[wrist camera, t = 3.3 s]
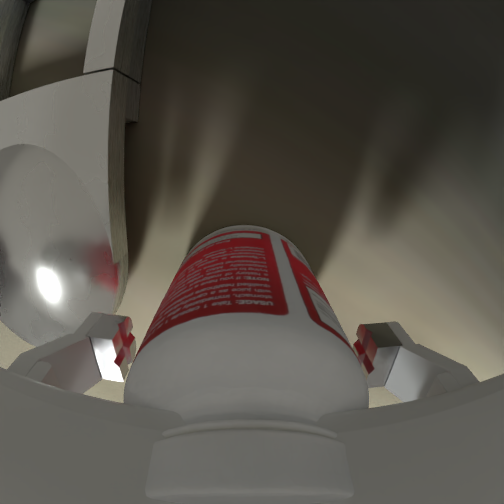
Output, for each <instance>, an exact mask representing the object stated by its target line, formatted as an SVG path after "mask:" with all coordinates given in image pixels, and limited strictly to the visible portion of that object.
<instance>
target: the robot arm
mask: <svg viewBox="0 0 504 504" xmlns="http://www.w3.org/2000/svg"><path fill="white" fill-rule="evenodd" d="M132 328H133V325H132V320H131V318H130V317H128V316H120V315H113V314H105V313H99V312H91V314H90V315H89V316H88V317H87V318H86V319H85V321H84V322H83V323H82V324H81V325H80V327H79V328H78V329H77V330H76V331H75V333H74V334H67V335H65V336H63V337H60V338H58V339H55V340H53V341H51V342H48V343H46V344H43V345H41V346H38V347H36V348H34V349H31V350H29V351H26V352H24V353H21V354H20V355H19V356H18V358H17V359H16V360H15V361H14V362H13V363H12V364H11V366H10V367H9V368H8V369H7V370H6V369H4V368H1V367H0V504H182V503H175V502H168V501H162V500H156V499H151V498H149V497H147V496H146V493H145V486H146V481H147V476H148V471H149V466H150V461H151V455H152V449H153V444H154V443H155V442H157V441H160V440H164V439H165V438H166V437H164V436H163V435H162V433H163V432H164V431H166V430H169V429H173V428H177V427H180V426H183V425H185V422H184V420H183V419H182V417H181V416H180V414H178V413H176V412H174V411H169V410H162V409H155V408H148V407H142V406H136V405H130V404H125V403H119V402H114V401H110V400H105V399H100V398H96V397H92V396H88V395H84V394H83V393H84V392H85V391H87V390H88V389H90V388H91V387H92V386H94V385H95V384H97V383H98V382H99V381H101V380H102V379H108V380H114V381H121V382H123V381H124V379H125V377H126V375H127V373H128V371H129V369H128V364H130V363H132V362H133V360H134V358H135V353H136V341H135V337H134V336H133V335H132V334H131V330H132ZM356 335H357V337H358V340H357V341H356V342H355V343H354V344H353V348H352V349H353V350H354V352H355V354H356V356H357V357H358V359H359V361H360V365H361V368H362V370H363V372H364V375H365V378H366V381H367V385H368V388H372V387H382V386H385V388H386V389H387V390H389V391H390V392H391V393H393V394H394V395H395V396H396V397H398V398H399V399H400V400H401V401H403V403H398V404H392V405H387V406H381V407H375V408H368V409H361V410H353V411H345V412H335V413H327V414H324V415H322V416H321V417H320V418H319V420H318V421H317V422H316V426H319V427H322V428H326V429H329V430H331V431H333V432H335V433H337V437H336V438H334V439H335V440H337V441H340V442H342V443H344V444H345V446H346V457H347V462H348V465H349V470H350V475H351V479H352V483H353V487H354V495H353V496H352V497H349V498H346V499H340V500H334V501H328V502H320V503H312V504H504V374H502V375H499V376H496V377H494V378H491V379H488V380H485V381H482V382H479V381H478V380H477V378H476V377H475V376H474V375H473V374H472V372H471V371H470V370H469V369H468V367H467V366H464V365H462V364H460V363H458V362H456V361H454V360H452V359H450V358H447V357H445V356H443V355H441V354H439V353H437V352H435V351H433V350H430V349H428V348H426V347H424V346H422V345H420V344H415V343H414V342H413V340H412V339H411V338H410V337H409V335H408V334H407V333H406V332H405V330H404V329H403V328H402V327H401V325H400V324H399V323H398V322H396V321H395V322H385V323H374V324H360V325H359V327H358V329H357V333H356Z"/></svg>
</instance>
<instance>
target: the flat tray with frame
mask: <svg viewBox="0 0 504 504" xmlns="http://www.w3.org/2000/svg"><path fill="white" fill-rule="evenodd" d="M33 1H35V0H0V320H1V321H2V322H3V323H4V324H5V325H6V326H7V327H8V328H9V329H10V330H11V331H12V332H13V333H15V334H16V335H17V336H19V337H20V338H21V339H23V340H25V341H26V342H28V343H30V344H32V345H34V346H36V347H38V346H41V345H43V344H46V343H48V342H51V341H53V340H55V339H58V338H60V337H63V336H65V335H67V334H74V333H75V331H76V330H77V329H78V328H79V327H80V325H81V324H82V323H83V322H84V321H85V319H86V318H87V317H88V316H89V315H90V314H91V312H99V313H105V314H113V315H115V313H116V312H117V310H118V308H119V306H120V304H121V302H122V299H123V296H124V293H125V289H126V284H127V278H128V247H127V235H126V219H125V196H124V137H125V123H126V122H137V121H138V117H139V101H140V88H141V85H139V83H141V77H142V67H143V59H144V51H145V43H146V36H147V30H148V23H149V17H150V12H151V6H152V1H153V0H97V3H96V7H95V11H94V16H93V20H92V25H91V29H90V34H89V39H88V45H87V51H86V57H85V63H84V70H83V73H84V74H86V75H83V76H79V77H75V78H71V79H67V80H63V81H59V82H56V83H52V84H49V85H45V86H42V87H39V88H36V89H33V90H30V91H27V92H24V93H21V94H18V95H15V96H13V97H10V98H9V94H10V87H11V80H12V74H13V68H14V62H15V57H16V52H17V48H18V44H19V39H20V35H21V32H22V28H23V24H24V21H25V17H26V14H27V11H28V8H29V5H30V4H29V3H31V2H33Z"/></svg>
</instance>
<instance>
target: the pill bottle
mask: <svg viewBox="0 0 504 504" xmlns="http://www.w3.org/2000/svg"><path fill="white" fill-rule="evenodd" d="M124 403H125V404H130V405H136V406H142V407H148V408H155V409H162V410H169V411H174V412H176V413H178V414H180V416H181V417H182V419H183V420H184V422H185V425H183V426H180V427H177V428H173V429H169V430H166V431H164V432H163V433H162V435H163V436H164V437H166V438H165V439H164V440H160V441H157V442H155V443H154V444H153V449H152V455H151V461H150V466H149V471H148V476H147V481H146V486H145V493H146V496H147V497H149V498H151V499H156V500H162V501H168V502H175V503H182V504H312V503H320V502H328V501H334V500H340V499H346V498H349V497H352V496H353V495H354V487H353V483H352V479H351V475H350V470H349V465H348V462H347V457H346V446H345V444H344V443H342V442H340V441H337V440H335V439H334V438H336V437H337V433H335V432H333V431H331V430H329V429H326V428H322V427H319V426H316V422H317V421H318V420H319V418H320V417H321V416H322V415H324V414H327V413H335V412H345V411H353V410H361V409H368V407H369V391H368V385H367V381H366V378H365V375H364V372H363V370H362V368H361V365H360V361H359V359H358V357H357V356H356V354H355V352H354V350H353V349H352V347H351V345H350V343H349V341H348V339H347V337H346V335H345V333H344V331H343V329H342V327H341V325H340V323H339V321H338V319H337V317H336V315H335V313H334V311H333V309H332V308H331V306H330V304H329V302H328V300H327V298H326V296H325V294H324V292H323V291H322V289H321V287H320V285H319V283H318V281H317V280H316V278H315V276H314V274H313V272H312V270H311V268H310V266H309V264H308V263H307V261H306V259H305V258H304V256H303V255H302V253H301V252H300V251H299V249H298V248H297V247H296V246H295V245H294V244H293V243H292V242H291V241H289V240H288V239H287V238H285V237H284V236H282V235H280V234H279V233H277V232H275V231H272V230H270V229H267V228H264V227H259V226H252V225H237V226H230V227H225V228H222V229H219V230H217V231H214V232H213V233H211V234H209V235H207V236H206V237H204V238H203V239H201V240H200V241H199V242H198V243H197V244H196V245H195V246H194V247H193V248H192V249H191V250H190V251H189V253H188V254H187V256H186V257H185V259H184V260H183V262H182V264H181V266H180V268H179V270H178V272H177V274H176V275H175V277H174V279H173V281H172V283H171V285H170V287H169V289H168V291H167V293H166V295H165V297H164V299H163V301H162V302H161V305H160V307H159V309H158V311H157V313H156V314H155V316H154V319H153V321H152V323H151V325H150V327H149V329H148V331H147V333H146V336H145V338H144V340H143V342H142V344H141V346H140V348H139V350H138V352H137V354H136V357H135V359H134V361H133V363H132V366H131V368H130V371H129V374H128V377H127V380H126V384H125V389H124Z"/></svg>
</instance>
